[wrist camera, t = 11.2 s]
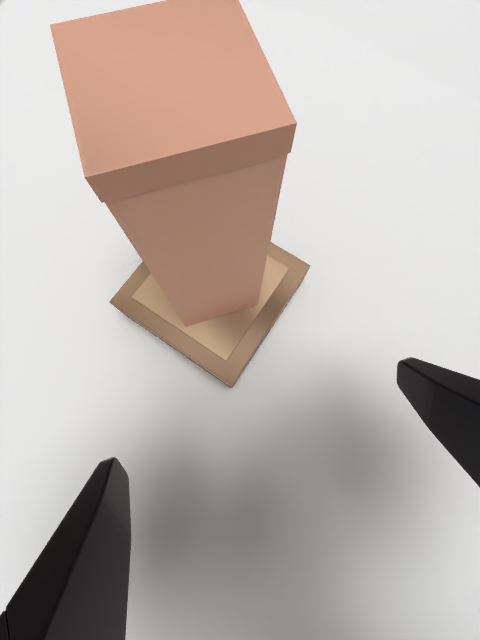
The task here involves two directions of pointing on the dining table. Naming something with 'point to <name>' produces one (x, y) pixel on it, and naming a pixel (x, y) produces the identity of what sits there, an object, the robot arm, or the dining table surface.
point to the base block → (219, 333)
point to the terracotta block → (181, 142)
